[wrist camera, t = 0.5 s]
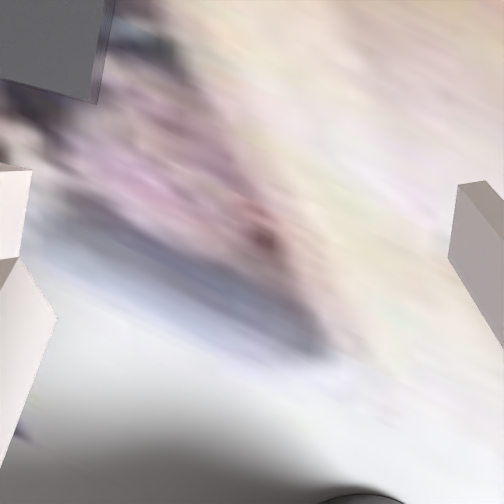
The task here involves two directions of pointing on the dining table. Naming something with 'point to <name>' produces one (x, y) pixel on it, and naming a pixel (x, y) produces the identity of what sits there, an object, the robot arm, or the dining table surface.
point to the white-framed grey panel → (12, 207)
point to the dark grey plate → (55, 45)
